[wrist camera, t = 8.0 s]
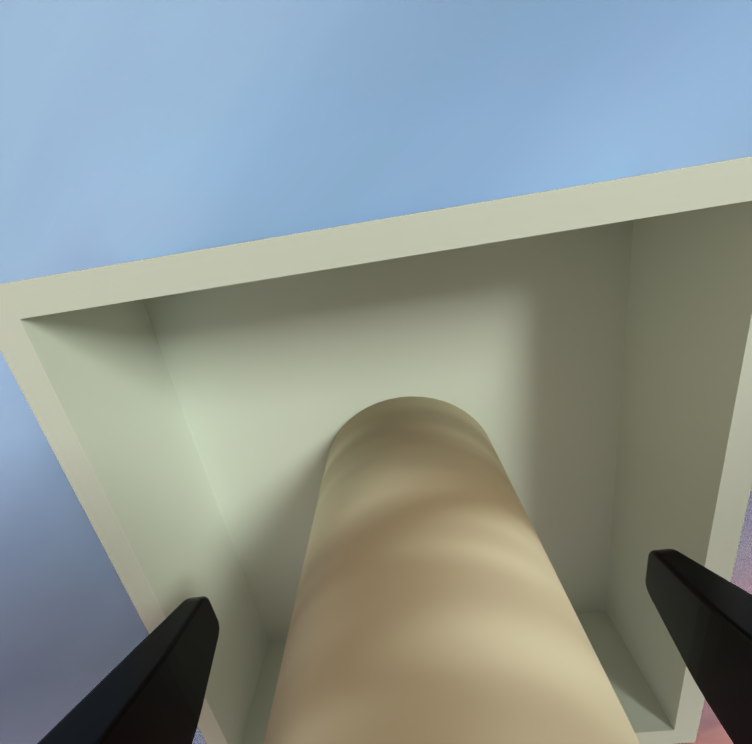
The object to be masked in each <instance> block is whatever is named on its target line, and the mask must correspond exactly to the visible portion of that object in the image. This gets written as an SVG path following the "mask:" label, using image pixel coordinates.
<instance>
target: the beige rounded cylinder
mask: <svg viewBox="0 0 752 744" xmlns="http://www.w3.org/2000/svg"><path fill="white" fill-rule="evenodd" d="M264 744H640V742H639V740H638V738H637V736H636V734H635V732H634V730H633V728H632V726H631V724H630V722H629V720H628V718H627V716H626V714H625V712H624V710H623V708H622V706H621V704H620V702H619V700H618V697H617V695H616V693H615V691H614V689H613V687H612V685H611V683H610V681H609V679H608V677H607V675H606V673H605V671H604V669H603V667H602V665H601V663H600V661H599V659H598V657H597V655H596V653H595V651H594V649H593V647H592V645H591V643H590V641H589V639H588V637H587V635H586V633H585V631H584V629H583V627H582V625H581V623H580V621H579V619H578V617H577V615H576V613H575V611H574V609H573V607H572V605H571V603H570V601H569V599H568V597H567V595H566V593H565V591H564V589H563V586H562V584H561V582H560V580H559V578H558V576H557V574H556V572H555V570H554V568H553V566H552V564H551V562H550V560H549V558H548V556H547V554H546V552H545V550H544V548H543V546H542V544H541V542H540V540H539V538H538V536H537V534H536V532H535V530H534V528H533V526H532V524H531V522H530V520H529V518H528V516H527V514H526V512H525V510H524V508H523V506H522V504H521V502H520V500H519V498H518V496H517V494H516V492H515V490H514V488H513V486H512V484H511V482H510V480H509V478H508V475H507V473H506V471H505V469H504V467H503V465H502V463H501V461H500V459H499V457H498V455H497V453H496V451H495V449H494V447H493V445H492V443H491V441H490V439H489V437H488V435H487V434H486V432H485V431H484V429H483V428H482V426H481V425H480V424H479V423H478V422H477V421H476V420H475V419H474V418H473V417H472V416H470V415H469V414H468V413H467V412H465V411H463V410H462V409H460V408H458V407H457V406H454V405H452V404H450V403H447V402H445V401H441V400H438V399H434V398H428V397H417V396H408V397H398V398H393V399H388V400H385V401H382V402H378V403H376V404H374V405H371V406H369V407H367V408H365V409H364V410H362V411H361V412H359V413H357V414H356V415H355V416H354V417H352V418H351V419H350V420H349V421H348V422H347V423H346V424H345V425H344V426H343V427H342V428H341V429H340V431H339V432H338V434H337V435H336V437H335V438H334V440H333V443H332V445H331V447H330V450H329V453H328V457H327V461H326V466H325V470H324V475H323V479H322V484H321V488H320V493H319V497H318V502H317V506H316V511H315V515H314V520H313V524H312V529H311V533H310V537H309V542H308V546H307V551H306V555H305V560H304V564H303V569H302V573H301V578H300V582H299V587H298V591H297V596H296V600H295V605H294V609H293V614H292V618H291V623H290V627H289V632H288V636H287V641H286V645H285V650H284V654H283V659H282V663H281V668H280V672H279V676H278V681H277V685H276V690H275V694H274V699H273V703H272V708H271V712H270V717H269V721H268V726H267V730H266V735H265V739H264Z"/></svg>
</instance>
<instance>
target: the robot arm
mask: <svg viewBox="0 0 752 744" xmlns="http://www.w3.org/2000/svg"><path fill="white" fill-rule="evenodd" d="M645 582H646V588H647V591H648V593H649V595H650V597H651V599H652V601H653V603H654V605H655V607H656V609H657V611H658V613H659V615H660V617H661V618H662V620H663V622H664V624H665V626H666V628H667V630H668V632H669V634H670V636H671V638H672V639H673V641H674V643H675V645H676V647H677V649H678V651H679V653H680V655H681V657H682V659H683V661H684V662H685V664H686V666H687V668H688V670H689V672H690V674H691V675H692V677H693V679H694V681H695V683H696V684H697V686H698V688H699V689H700V691H701V693H702V694H703V696H704V698H705V699H706V701H707V702H708V704H709V705H710V707H711V709H712V710H713V712H714V713H715V715H716V717H717V718H718V720H719V721H720V723H721V724H722V726H723V728H724V729H725V731H726V732H727V734H728V735H729V737H730V739H731V740H732V742H733V743H734V744H752V595H751V594H749V593H748V592H746V591H744V590H743V589H741V588H739V587H738V586H736V585H734V584H733V583H731V582H729V581H728V580H726V579H724V578H723V577H721V576H719V575H718V574H716V573H714V572H712V571H711V570H709V569H707V568H706V567H704V566H702V565H701V564H699V563H697V562H696V561H694V560H692V559H691V558H689V557H687V556H686V555H684V554H682V553H680V552H679V551H677V550H674V549H660V550H652V551H651V552H650V553H649V555H648V562H647V570H646V579H645ZM218 637H219V621H218V619H217V617H216V614H215V612H214V609H213V607H212V605H211V602H210V600H209V599H208V598H207V597H206V596H200V597H191V598H188V599H186V600H184V601H183V602H182V603H181V604H180V605H179V606H178V607H177V608H176V609H175V610H174V611H173V612H172V613H171V614H170V615H169V616H168V617H167V618H166V619H165V620H164V621H163V622H162V623H161V624H159V625H158V626H157V627H156V628H155V629H154V630H153V631H152V632H151V633H150V634H149V635H148V636H147V637H146V638H145V639H144V640H143V641H142V642H141V643H140V644H139V645H138V646H137V647H136V648H135V649H134V650H133V651H132V652H131V653H130V654H129V655H128V656H127V657H126V658H125V659H124V660H123V661H122V662H121V663H120V664H118V665H117V666H116V667H115V668H114V669H113V670H112V671H111V672H110V673H109V674H108V675H107V676H106V677H105V678H104V679H103V680H102V681H101V682H100V683H99V684H98V685H97V686H96V687H95V688H94V689H93V690H92V691H91V692H90V693H89V694H88V695H87V696H86V697H85V698H84V699H83V700H82V701H81V702H80V703H79V704H78V705H76V706H75V707H74V708H73V709H72V710H71V711H70V712H69V713H68V714H67V715H66V716H65V717H64V718H63V719H62V720H61V721H60V722H59V723H58V724H57V725H56V726H55V727H54V728H53V729H52V730H51V731H50V732H49V733H48V734H47V735H46V736H45V737H44V738H43V739H42V740H41V741H40V742H39V743H38V744H192V741H193V738H194V735H195V732H196V728H197V725H198V722H199V718H200V714H201V710H202V706H203V702H204V698H205V693H206V689H207V685H208V680H209V676H210V672H211V667H212V663H213V659H214V654H215V650H216V646H217V641H218Z"/></svg>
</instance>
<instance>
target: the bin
mask: <svg viewBox="0 0 752 744" xmlns="http://www.w3.org/2000/svg"><path fill="white" fill-rule="evenodd" d="M0 350H1V352H2V354H3V356H4V358H5V360H6V362H7V364H8V366H9V368H10V370H11V371H12V373H13V375H14V377H15V379H16V381H17V383H18V385H19V387H20V389H21V391H22V392H23V394H24V396H25V398H26V400H27V402H28V404H29V406H30V408H31V410H32V412H33V413H34V415H35V417H36V419H37V421H38V423H39V425H40V427H41V429H42V431H43V433H44V434H45V436H46V438H47V440H48V442H49V444H50V446H51V448H52V450H53V452H54V454H55V455H56V457H57V459H58V461H59V463H60V465H61V467H62V469H63V471H64V473H65V475H66V476H67V478H68V480H69V482H70V484H71V486H72V488H73V490H74V492H75V494H76V496H77V497H78V499H79V501H80V503H81V505H82V507H83V509H84V511H85V513H86V515H87V517H88V518H89V520H90V522H91V524H92V526H93V528H94V530H95V532H96V534H97V536H98V538H99V539H100V541H101V543H102V545H103V547H104V549H105V551H106V553H107V555H108V557H109V559H110V561H111V562H112V564H113V566H114V568H115V570H116V572H117V574H118V576H119V578H120V580H121V582H122V583H123V585H124V587H125V589H126V591H127V593H128V595H129V597H130V599H131V601H132V603H133V604H134V606H135V608H136V610H137V612H138V614H139V616H140V618H141V620H142V622H143V624H144V625H145V627H146V629H147V631H148V633H149V634H150V633H151V632H152V631H153V630H154V629H155V628H156V627H157V626H158V625H159V624H161V623H162V622H163V621H164V620H165V619H166V618H167V617H168V616H169V615H170V614H171V613H172V612H173V611H174V610H175V609H176V608H177V607H178V606H179V605H180V604H181V603H182V602H183V601H184V600H186V599H188V598H191V597H200V596H206V597H207V598H208V599H209V600H210V602H211V605H212V607H213V609H214V612H215V614H216V617H217V619H218V621H219V637H218V641H217V646H216V650H215V654H214V659H213V663H212V667H211V672H210V676H209V680H208V685H207V689H206V693H205V698H204V702H203V706H202V710H201V714H200V718H199V722H198V725H197V727H198V729H199V730H200V732H201V734H202V736H203V738H204V740H205V742H206V744H264V739H265V735H266V730H267V726H268V721H269V717H270V712H271V708H272V703H273V699H274V694H275V690H276V685H277V681H278V676H279V672H280V668H281V663H282V659H283V654H284V650H285V645H286V641H287V636H288V632H289V627H290V623H291V618H292V614H293V609H294V605H295V600H296V596H297V591H298V587H299V582H300V578H301V573H302V569H303V564H304V560H305V555H306V551H307V546H308V542H309V537H310V533H311V529H312V524H313V520H314V515H315V511H316V506H317V502H318V497H319V493H320V488H321V484H322V479H323V475H324V470H325V466H326V461H327V457H328V453H329V450H330V447H331V445H332V443H333V440H334V438H335V437H336V435H337V434H338V432H339V431H340V429H341V428H342V427H343V426H344V425H345V424H346V423H347V422H348V421H349V420H350V419H351V418H352V417H354V416H355V415H356V414H357V413H359V412H361V411H362V410H364V409H365V408H367V407H369V406H371V405H374V404H376V403H378V402H382V401H385V400H388V399H393V398H398V397H408V396H417V397H428V398H434V399H438V400H441V401H445V402H447V403H450V404H452V405H454V406H457V407H458V408H460V409H462V410H463V411H465V412H467V413H468V414H469V415H470V416H472V417H473V418H474V419H475V420H476V421H477V422H478V423H479V424H480V425H481V426H482V428H483V429H484V431H485V432H486V434H487V435H488V437H489V439H490V441H491V443H492V445H493V447H494V449H495V451H496V453H497V455H498V457H499V459H500V461H501V463H502V465H503V467H504V469H505V471H506V473H507V475H508V478H509V480H510V482H511V484H512V486H513V488H514V490H515V492H516V494H517V496H518V498H519V500H520V502H521V504H522V506H523V508H524V510H525V512H526V514H527V516H528V518H529V520H530V522H531V524H532V526H533V528H534V530H535V532H536V534H537V536H538V538H539V540H540V542H541V544H542V546H543V548H544V550H545V552H546V554H547V556H548V558H549V560H550V562H551V564H552V566H553V568H554V570H555V572H556V574H557V576H558V578H559V580H560V582H561V584H562V586H563V589H564V591H565V593H566V595H567V597H568V599H569V601H570V603H571V605H572V607H573V609H574V611H575V613H576V615H577V617H578V619H579V621H580V623H581V625H582V627H583V629H584V631H585V633H586V635H587V637H588V639H589V641H590V643H591V645H592V647H593V649H594V651H595V653H596V655H597V657H598V659H599V661H600V663H601V665H602V667H603V669H604V671H605V673H606V675H607V677H608V679H609V681H610V683H611V685H612V687H613V689H614V691H615V693H616V695H617V697H618V700H619V702H620V704H621V706H622V708H623V710H624V712H625V714H626V716H627V718H628V720H629V722H630V724H631V726H632V728H633V730H634V732H635V734H636V736H637V738H638V740H639V742H640V744H673V743H688V742H695V741H696V736H697V731H698V727H699V722H700V718H701V713H702V709H703V704H704V700H705V698H704V696H703V694H702V693H701V691H700V689H699V688H698V686H697V684H696V683H695V681H694V679H693V677H692V675H691V674H690V672H689V670H688V668H687V666H686V664H685V662H684V661H683V659H682V657H681V655H680V653H679V651H678V649H677V647H676V645H675V643H674V641H673V639H672V638H671V636H670V634H669V632H668V630H667V628H666V626H665V624H664V622H663V620H662V618H661V617H660V615H659V613H658V611H657V609H656V607H655V605H654V603H653V601H652V599H651V597H650V595H649V593H648V591H647V588H646V582H645V579H646V570H647V562H648V555H649V553H650V552H651V551H652V550H660V549H674V550H677V551H679V552H680V553H682V554H684V555H686V556H687V557H689V558H691V559H692V560H694V561H696V562H697V563H699V564H701V565H702V566H704V567H706V568H707V569H709V570H711V571H712V572H714V573H716V574H718V575H719V576H721V577H723V578H724V579H726V580H728V581H729V582H731V578H732V573H733V569H734V564H735V560H736V555H737V551H738V546H739V542H740V537H741V533H742V528H743V523H744V519H745V514H746V510H747V505H748V501H749V496H750V492H751V487H752V156H750V157H744V158H739V159H733V160H727V161H721V162H715V163H709V164H703V165H697V166H691V167H686V168H680V169H674V170H668V171H662V172H656V173H650V174H644V175H638V176H633V177H627V178H621V179H615V180H609V181H603V182H597V183H591V184H585V185H580V186H574V187H568V188H562V189H556V190H550V191H544V192H538V193H532V194H527V195H521V196H515V197H509V198H503V199H497V200H491V201H485V202H479V203H474V204H468V205H462V206H456V207H450V208H444V209H438V210H432V211H426V212H421V213H415V214H409V215H403V216H397V217H391V218H385V219H379V220H373V221H367V222H362V223H356V224H350V225H344V226H338V227H332V228H326V229H320V230H314V231H309V232H303V233H297V234H291V235H285V236H279V237H273V238H267V239H261V240H256V241H250V242H244V243H238V244H232V245H226V246H220V247H214V248H208V249H203V250H197V251H191V252H185V253H179V254H173V255H167V256H161V257H155V258H150V259H144V260H138V261H132V262H126V263H120V264H114V265H108V266H102V267H97V268H91V269H85V270H79V271H73V272H67V273H61V274H55V275H49V276H44V277H38V278H32V279H26V280H20V281H14V282H8V283H2V284H0Z"/></svg>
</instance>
